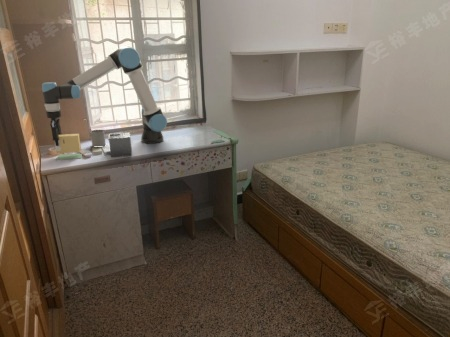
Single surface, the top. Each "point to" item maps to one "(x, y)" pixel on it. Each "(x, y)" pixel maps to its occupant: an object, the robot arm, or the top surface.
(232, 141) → the top surface
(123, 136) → the dispenser
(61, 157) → the pad
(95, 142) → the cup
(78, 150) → the yellow rectangular block
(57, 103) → the robot arm
